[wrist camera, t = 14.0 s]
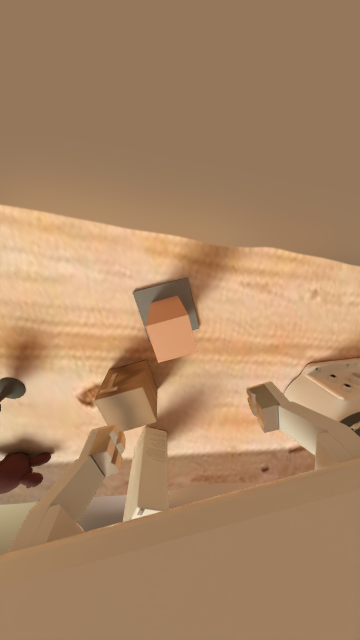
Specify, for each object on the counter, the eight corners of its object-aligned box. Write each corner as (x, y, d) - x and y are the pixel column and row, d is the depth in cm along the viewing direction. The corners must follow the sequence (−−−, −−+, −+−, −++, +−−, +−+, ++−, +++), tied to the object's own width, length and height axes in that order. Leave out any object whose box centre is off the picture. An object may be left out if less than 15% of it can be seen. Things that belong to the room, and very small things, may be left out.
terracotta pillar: (177, 295, 30) (188, 314, 19) (184, 320, 32) (197, 351, 20) (150, 302, 30) (145, 326, 19) (158, 327, 32) (158, 362, 20)
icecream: (-45, 507, 33) (43, 494, 36) (-68, 498, 29) (33, 484, 33) (-17, 463, 39) (57, 455, 42) (-33, 450, 35) (50, 442, 38)
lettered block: (146, 359, 34) (142, 386, 27) (157, 389, 37) (156, 421, 29) (108, 369, 34) (93, 399, 26) (122, 399, 37) (112, 434, 29)
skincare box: (155, 452, 43) (152, 542, 29) (132, 448, 42) (118, 540, 28) (167, 429, 41) (171, 514, 27) (144, 424, 40) (136, 511, 26)
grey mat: (187, 277, 30) (187, 277, 29) (198, 327, 33) (199, 328, 33) (133, 291, 30) (132, 292, 29) (150, 340, 33) (149, 341, 32)
